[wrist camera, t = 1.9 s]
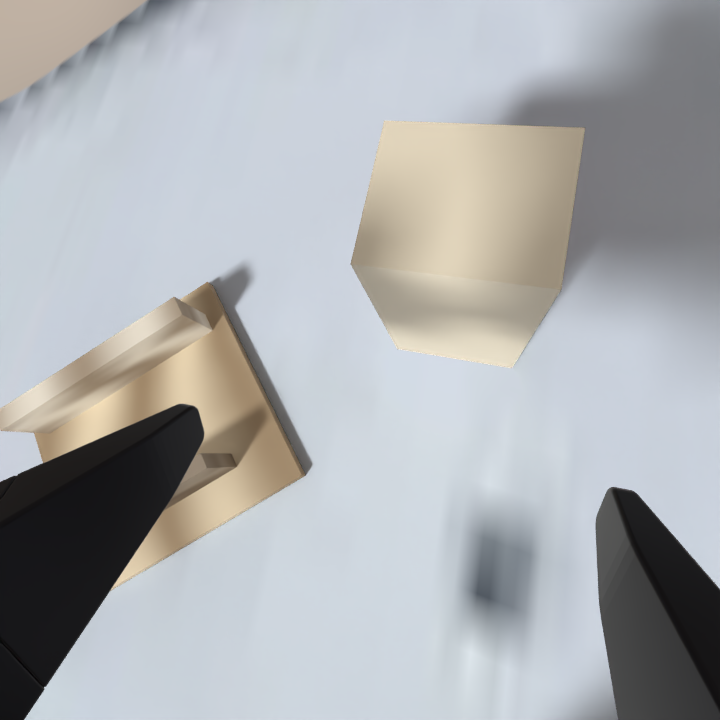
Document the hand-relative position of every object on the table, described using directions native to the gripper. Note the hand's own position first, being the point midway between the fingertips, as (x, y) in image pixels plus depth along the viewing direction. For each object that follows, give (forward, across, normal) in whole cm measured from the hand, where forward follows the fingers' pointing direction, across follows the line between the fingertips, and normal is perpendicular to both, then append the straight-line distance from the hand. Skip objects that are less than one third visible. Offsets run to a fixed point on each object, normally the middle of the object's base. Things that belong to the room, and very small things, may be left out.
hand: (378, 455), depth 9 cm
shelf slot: (+8, +16, +10) cm, 21 cm away
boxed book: (+15, -1, +4) cm, 16 cm away
